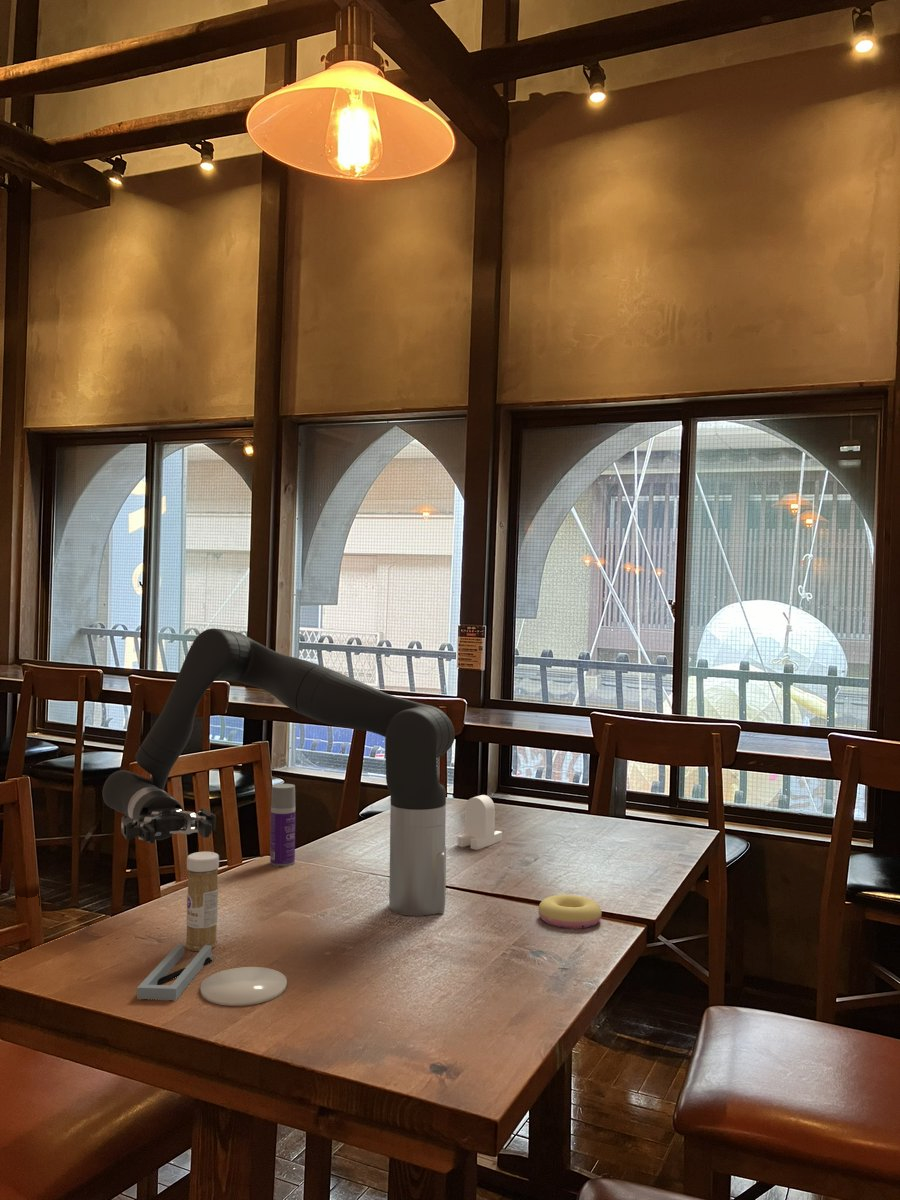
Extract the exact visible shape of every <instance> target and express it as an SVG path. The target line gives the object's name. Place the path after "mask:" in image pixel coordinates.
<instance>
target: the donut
mask: <svg viewBox="0 0 900 1200" xmlns="http://www.w3.org/2000/svg"><path fill="white" fill-rule="evenodd" d="M602 913H603V912H602V908H601V906H600V905H599V904H598V902H596V901H595V900H593V899H591V898H588V897H585V896H582V895H581V896H580V895H573V894H557V895H556V894H555V895H551V896H548V897H546V898H544V899H542V901H541V902H540V903H539V905H538V915H539V918H541V920H542V921H544V922H545V923H546V924H548V925H550V926H554V927H557V928H561V929H562V928H563V929H573V930H574V929H586V928H591V927H593V926H595V925H597V924H598V923H599V922H600V920H601V918H602Z"/></svg>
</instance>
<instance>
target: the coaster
mask: <svg viewBox="0 0 900 1200" xmlns="http://www.w3.org/2000/svg"><path fill="white" fill-rule="evenodd" d="M287 981H288V980H287V977H286V975H284V974H283V973H282V972H280V971H278V970H275V969H272V968H269V967H268V968H267V967H263V966H262V967H260V966H243V967H234V968H229V969H225V970H221V971H218V972H216V973H213V974H211V975H209V976H208V977H206V978H205V979H204V980H203V981H202V982H201V984H200V994H201V996H203V997H202V998H203V999H204V998H205V999H204V1000H206V1001H208V1002H210V1003H213V1004H215V1005H219V1006H226V1007H228V1006H229V1007H244V1006H253V1005H257V1004H262V1003H266V1002H268V1001H271V1000H273V999H275V998H278V997H279V996H280V995H281V996H282V994H283V993H284V992H285V991H286V989H287V984H288V983H287Z"/></svg>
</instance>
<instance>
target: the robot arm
mask: <svg viewBox="0 0 900 1200" xmlns="http://www.w3.org/2000/svg"><path fill="white" fill-rule="evenodd" d="M216 680H219V681H229V682H230V681H231V682H237V683H241V684H245V685H248V686H251V687H254V688H258V689H260V690H264V691H265V692H267V693H269V694H270V695H272V696H274V698H276V699H277V700H278V701H279V702H280V703H282V704H283V705H284V706H286V707H287V708H288V709H291V711H294V712H296V713H297V714H300V715H303V716H305V717H307V718H310V719H311V720H314V721H316V722H320V723H323V724H325V725H329V726H334V727H339V728H343V729H344V728H346V729H351V730H359V731H363V732H369V733H374V734H375V735H376V734H377V735H380V736H382V737H384V739H385V740H384V741H385V742H384V743H385V744H384V745H385V747H384V748H385V749H384V751H385V753H384V754H385V756H384V757H385V779H386V786H387V789H388V790H387V791H388V792H389V796H390V797H389V798H390V812H389V813H390V814H389V815H390V817H389V818H390V819H389V835H390V836H389V890H388V891H389V893H388V899H389V905H388V906H389V909H390V910H391V911H392V912H394V913H396V914H400V915H405V916H429V915H435V914H444V913H445V908H446V907H445V906H446V892H447V891H446V885H447V883H446V882H447V881H446V880H447V879H446V878H447V876H446V873H447V872H446V871H447V846H446V827H447V826H446V824H447V823H446V821H447V820H446V817H447V815H446V813H447V811H446V809H447V808H446V807H447V806H446V805H447V791H446V788H445V786H444V785H443V784H441V783H440V782H439V778H438V758H440V757H442V756H443V755H445V754H447V752H448V751H449V750H450V749H451V748H452V746H453V744H454V741H455V736H456V732H455V727H454V725H453V724H454V723H452V721H451V719H450V718H449V717H448V715H447V714H446V713H445V712H444V711H443V710H441V709H439V708H438V707H436V706H433V705H429V704H425V703H421V702H416V701H413V700H409V699H407V698H402V697H398V696H396V695H392V694H389V693H386V692H384V691H381V690H379V689H378V688H375V687H373V686H371V685H369V684H367V683H364V682H362V681H360V680H357V679H355V678H353V677H351V676H348V675H345V674H342V673H341V672H340V671H339V672H338V671H336V670H335V669H334V670H333V669H331V668H329V667H326V666H323V665H320V664H318V663H314V662H311V661H309V660H305V659H302V658H299V657H294V656H289V655H285V654H282V653H279V652H278V651H276V650H273V649H271V648H269V647H267V646H265V645H263V644H261V643H259V642H258V641H255V640H253V639H252V638H251V637H248V636H247V635H245V634H243V633H241V632H237V631H233V630H227V629H223V628H214V627H213V628H208V629H205V630H203V631H201V632H200V633H199V634H198V635H196V637H195V639H194V640H193V641H192V644H191V646H190V647H189V650H188V652H187V654H186V656H185V658H184V661H183V663H182V666H181V668H180V670H179V672H178V675H177V678H176V679H175V681H174V685H173V687H172V688H171V691H170V693H169V696H168V698H167V700H166V702H165V705H164V706H163V709H161V712H160V714H159V715H158V717H157V719H156V721H155V722H154V724H153V725H152V727H151V729H150V730H149V732H148V734H147V735H146V737H145V738H144V740H142V743H141V744H140V746H139V748H138V749H137V752H136V753H135V761H136V763H137V765H138V766H139V767H140V768H142V769H143V770H144V771H145V772H147V773H149V775H151V777H150V778H146V777H145V776H141V775H139V774H137V773H134V772H132V771H129V770H125V769H122V770H121V769H120V770H117V771H115V772H112V774H110V775H109V776H108V778H106V780H105V782H104V784H103V787H102V793H101V794H102V799H103V802H104V804H105V805H106V806H107V807H109V808H111V809H113V810H114V811H117V812H118V813H121V814H123V816H121V830H120V832H121V834H122V835H123V837H124V839H125V840H128V841H132V840H134V839H135V837H138V840H142V841H143V842H147V843H148V844H150V845H151V844H155V841H162V840H165V839H166V840H167V839H168V838H170V837H172V836H173V835H176V834H183V835H191V834H194V833H197V834H199V835H200V836H201V837H202V838H204V839H206V838H210V835H212V832H214V831H216V819H217V816H216V814H215V813H212V812H210V811H209V810H207V809H205V808H199V809H198V810H197V813H195V812H194V811H188V810H187V811H186V810H184V809H183V806H182V805H181V803H180V802H179V800H177V799H176V798H175V797H173V796H172V795H171V794H170V793H168V792H166V791H165V790H164V789H165V786H166V783H167V781H168V778H169V775H170V773H171V771H172V769H173V767H174V766H175V763H177V761H178V759H179V758H180V756H181V754H182V753H183V751H184V749H185V748H186V746H187V745H188V743H189V740H190V739H191V736H192V732H193V730H194V725H195V720H196V719H195V718H196V714H197V710H198V706H199V703H200V702H201V700H202V698H203V696H204V695H205V693H206V692H207V690H208V689H209V688H210V686H211V685H212V684H213V683H214V682H215V681H216Z"/></svg>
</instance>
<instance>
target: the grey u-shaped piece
mask: <svg viewBox="0 0 900 1200" xmlns="http://www.w3.org/2000/svg"><path fill="white" fill-rule="evenodd" d="M212 949H213V948H212V945H204V947H203V948H202V949H201V950H200V951H198V953H196V955H195V956H194V957H193V959H192V960H191V961H190V962H189V963H188V965H187V966H185V967H184V968H185V969H184V970H183V972H182V973H181V974H180V975H179V976H178V977H177V978H175V980H174V981H173V982H172V983H171V985H170V984H169V985H167V984H162V985H157V982H158V980H159V979H160V978H162V977H164V976H166V975H168V974H167V973H168V972H169V971H170V972H171V970H173V968H174V967H175V966H176V965H177V964H178V963H179V961H180V960H181V959H182V958H183V957H184V956H183V955H184V954H185V944H179V943H178V944H176V945H175V946H174V947H173V948H172V950H170V951H169V953H168V954H166V956H165V957H164V958H163V959H162V960H161V961H160V962H159V963H158V964H157V965H156V966H155V968H154V969H153V970H152V971H150V973H149V974H148V975H147V977H145V979H144V980H142V982H141V983H140V984H139V985H138V986H137V988H136V989H137V990H136V1000H138V999H139V1001H140V1000H141V999H148V1000H147V1001H169V1000H176V1001H177V1000H178V999H179V998H180V997H181V995H182V994H183V992H184V991H185V990H186V989H187V987H188V986H189V985H190V984H191V982H192V981H193V980H194V979H195V977H196V976H197V975H198V974H199V972H200V971H201V970H202V969H203V967H204V966H203V964H204V962H205V959H206V958H208V957H212ZM182 956H183V957H182ZM181 957H182V958H181ZM180 958H181V959H180ZM179 959H180V960H179ZM176 963H177V964H176ZM175 964H176V965H175ZM174 965H175V966H174ZM173 966H174V967H173ZM201 968H202V969H201ZM200 969H201V970H200ZM199 970H200V971H199ZM170 972H169V973H170ZM197 973H198V974H197ZM196 974H197V975H196ZM195 975H196V976H195ZM193 978H194V979H193ZM192 979H193V980H192ZM189 983H190V984H189ZM188 984H189V985H188ZM185 988H186V989H185ZM181 993H182V994H181ZM177 998H178V999H177ZM149 999H151V1000H149ZM152 999H153V1000H152ZM154 999H155V1000H154ZM157 999H158V1000H157Z"/></svg>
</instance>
